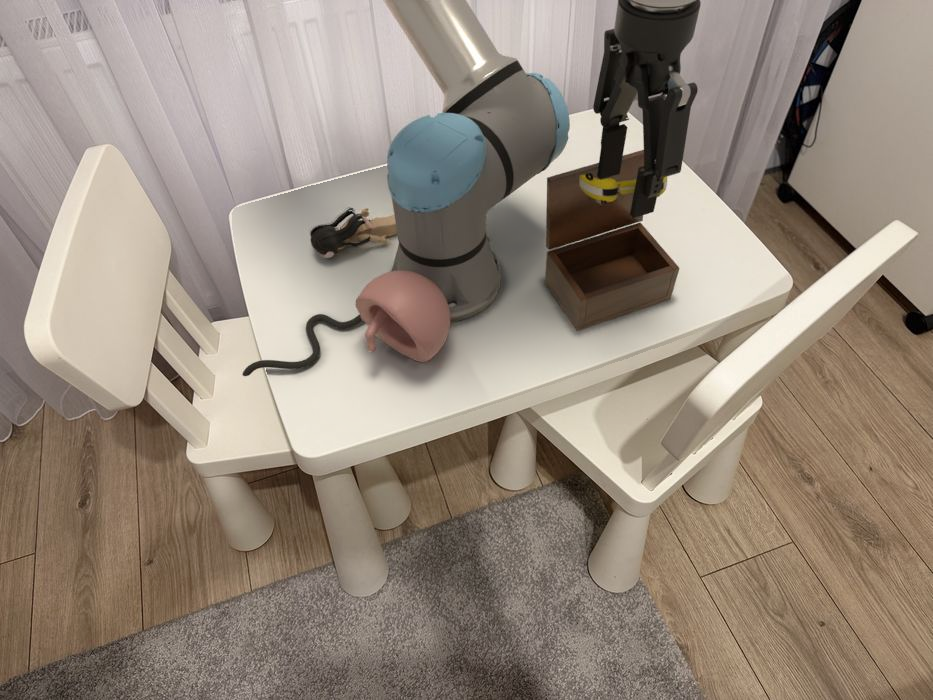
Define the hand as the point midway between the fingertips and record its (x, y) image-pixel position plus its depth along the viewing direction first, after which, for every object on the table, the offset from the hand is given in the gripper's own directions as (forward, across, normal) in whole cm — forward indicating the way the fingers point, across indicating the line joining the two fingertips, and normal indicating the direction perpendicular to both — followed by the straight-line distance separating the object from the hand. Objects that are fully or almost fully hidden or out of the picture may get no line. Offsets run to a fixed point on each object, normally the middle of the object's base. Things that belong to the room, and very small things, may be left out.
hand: (624, 193), depth 80 cm
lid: (+5, +5, 0) cm, 7 cm away
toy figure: (+17, +24, +28) cm, 41 cm away
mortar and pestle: (+9, +2, +23) cm, 25 cm away
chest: (+17, 0, 0) cm, 17 cm away
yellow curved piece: (0, 0, 0) cm, 0 cm away
